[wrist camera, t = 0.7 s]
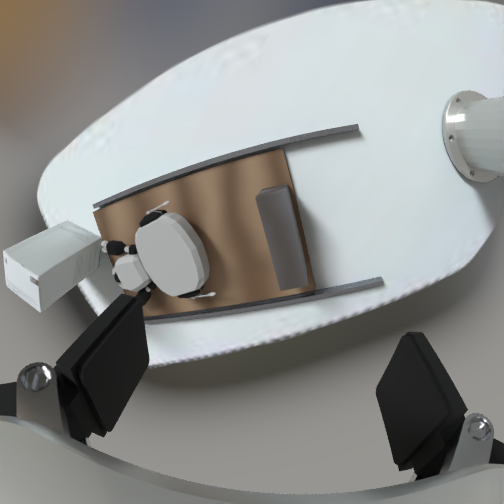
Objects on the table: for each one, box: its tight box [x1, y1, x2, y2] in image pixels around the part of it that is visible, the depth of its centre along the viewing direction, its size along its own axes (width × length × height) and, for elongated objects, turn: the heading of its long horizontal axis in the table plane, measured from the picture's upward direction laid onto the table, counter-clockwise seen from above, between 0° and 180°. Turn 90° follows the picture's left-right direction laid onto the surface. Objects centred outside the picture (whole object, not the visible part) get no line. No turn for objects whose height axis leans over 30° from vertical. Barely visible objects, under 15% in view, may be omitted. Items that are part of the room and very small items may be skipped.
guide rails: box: [93, 124, 384, 324], centre depth 34 cm, size 36×20×1 cm, turn 105°
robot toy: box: [101, 201, 216, 307], centre depth 34 cm, size 12×4×15 cm
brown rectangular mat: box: [93, 148, 315, 317], centre depth 32 cm, size 28×18×6 cm, turn 105°
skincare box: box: [3, 221, 102, 313], centre depth 31 cm, size 8×6×15 cm
